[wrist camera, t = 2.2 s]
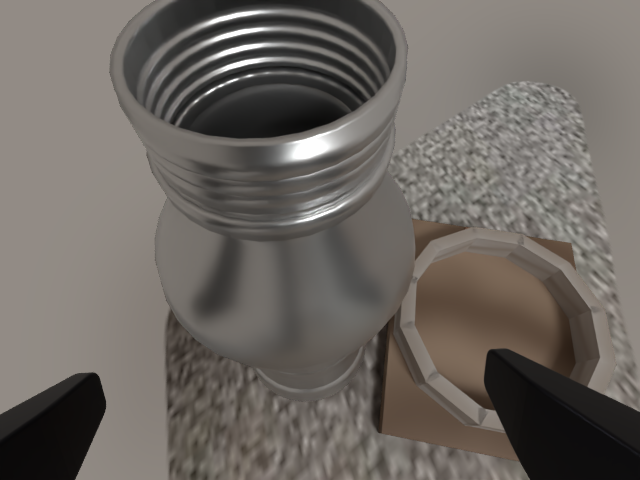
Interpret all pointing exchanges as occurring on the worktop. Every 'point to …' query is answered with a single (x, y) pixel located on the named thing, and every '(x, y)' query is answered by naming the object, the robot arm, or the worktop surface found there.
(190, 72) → the silver bottle
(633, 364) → the worktop surface
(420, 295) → the square coaster with ring
